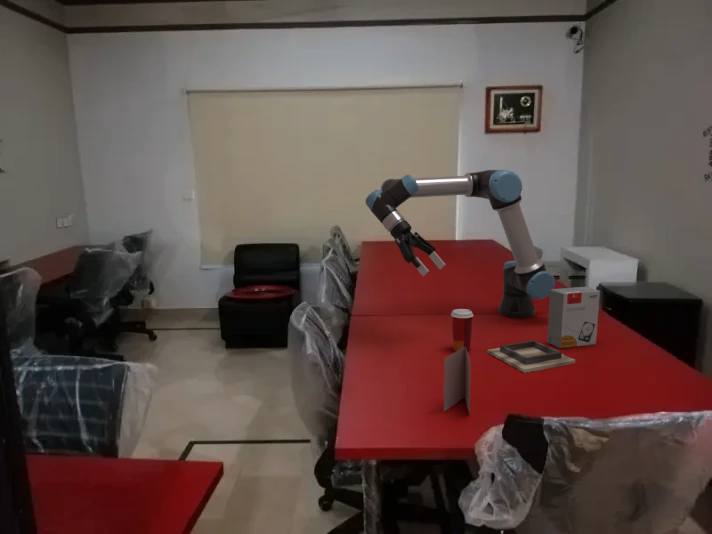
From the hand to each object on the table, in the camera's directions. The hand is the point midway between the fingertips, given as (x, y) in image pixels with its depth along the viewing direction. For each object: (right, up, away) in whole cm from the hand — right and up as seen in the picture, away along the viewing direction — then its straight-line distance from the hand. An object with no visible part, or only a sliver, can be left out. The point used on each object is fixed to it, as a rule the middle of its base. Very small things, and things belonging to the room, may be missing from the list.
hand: (434, 270), depth 197 cm
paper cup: (+9, -28, 0) cm, 30 cm away
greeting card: (+2, -37, -46) cm, 59 cm away
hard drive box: (+50, -27, +3) cm, 57 cm away
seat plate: (+31, -29, -10) cm, 44 cm away
